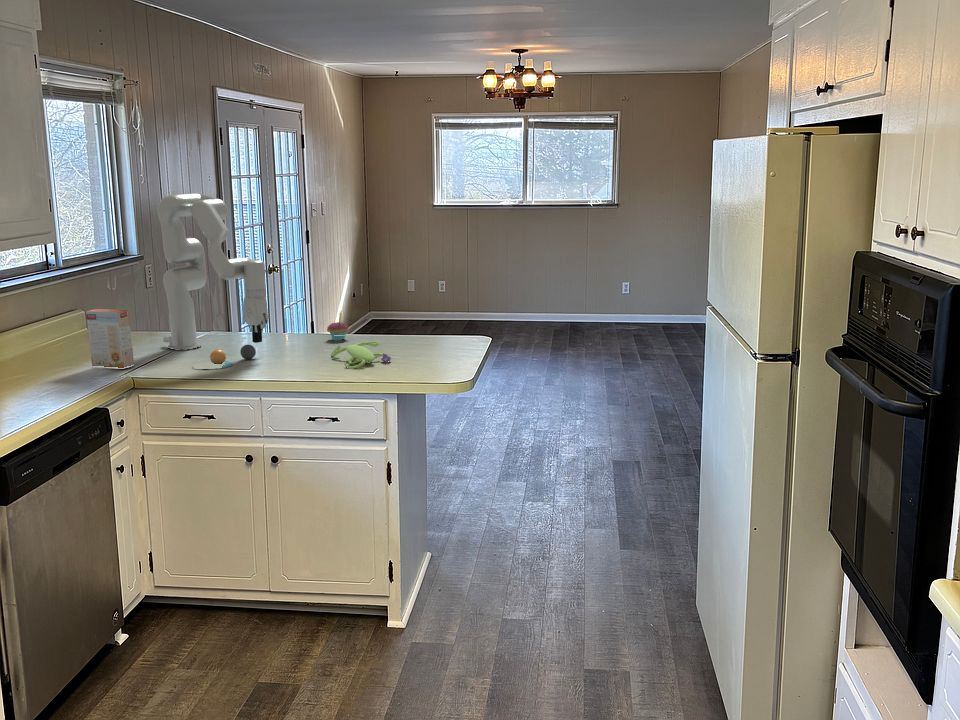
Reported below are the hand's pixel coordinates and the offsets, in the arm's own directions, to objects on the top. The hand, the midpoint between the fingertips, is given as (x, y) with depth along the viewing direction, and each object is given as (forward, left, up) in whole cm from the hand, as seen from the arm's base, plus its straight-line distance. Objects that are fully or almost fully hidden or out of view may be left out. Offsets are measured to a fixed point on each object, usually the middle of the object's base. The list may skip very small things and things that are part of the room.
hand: (257, 341), depth 330 cm
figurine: (+41, 0, -6) cm, 41 cm away
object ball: (-8, -15, -3) cm, 18 cm away
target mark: (-9, -18, -5) cm, 20 cm away
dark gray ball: (-1, -6, -3) cm, 6 cm away
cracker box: (-44, -26, -6) cm, 51 cm away
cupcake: (+18, +34, -6) cm, 39 cm away
